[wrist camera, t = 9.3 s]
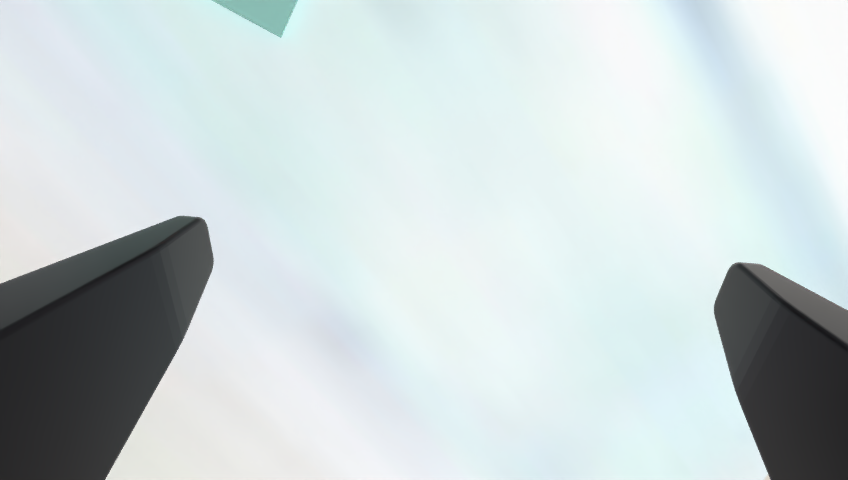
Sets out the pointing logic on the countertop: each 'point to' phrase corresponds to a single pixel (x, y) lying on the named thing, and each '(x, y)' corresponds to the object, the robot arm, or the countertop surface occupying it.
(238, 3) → the mat
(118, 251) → the robot arm
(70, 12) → the countertop surface
